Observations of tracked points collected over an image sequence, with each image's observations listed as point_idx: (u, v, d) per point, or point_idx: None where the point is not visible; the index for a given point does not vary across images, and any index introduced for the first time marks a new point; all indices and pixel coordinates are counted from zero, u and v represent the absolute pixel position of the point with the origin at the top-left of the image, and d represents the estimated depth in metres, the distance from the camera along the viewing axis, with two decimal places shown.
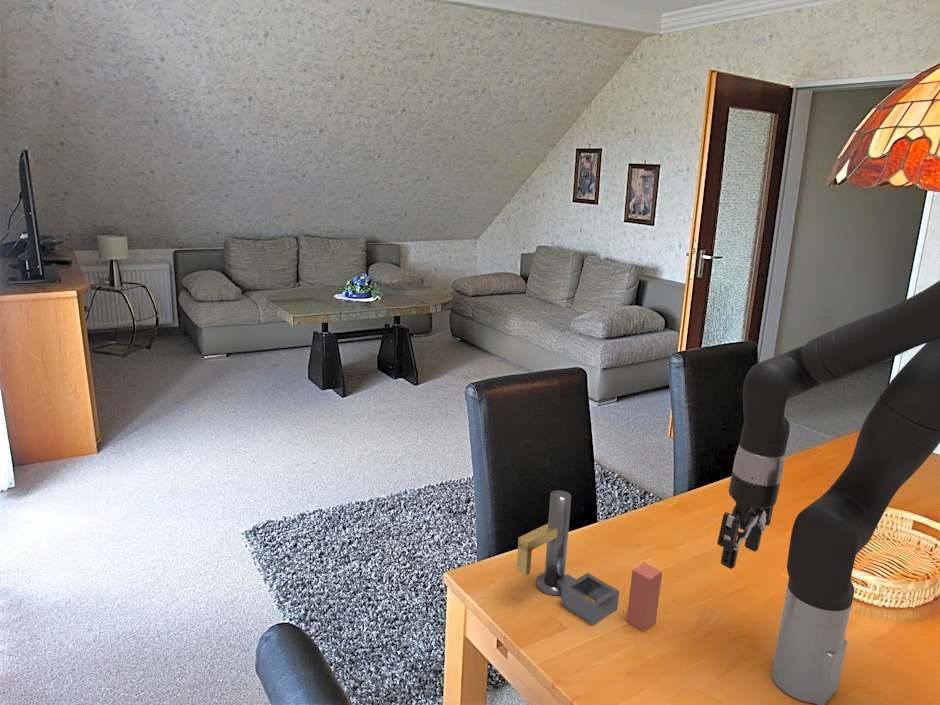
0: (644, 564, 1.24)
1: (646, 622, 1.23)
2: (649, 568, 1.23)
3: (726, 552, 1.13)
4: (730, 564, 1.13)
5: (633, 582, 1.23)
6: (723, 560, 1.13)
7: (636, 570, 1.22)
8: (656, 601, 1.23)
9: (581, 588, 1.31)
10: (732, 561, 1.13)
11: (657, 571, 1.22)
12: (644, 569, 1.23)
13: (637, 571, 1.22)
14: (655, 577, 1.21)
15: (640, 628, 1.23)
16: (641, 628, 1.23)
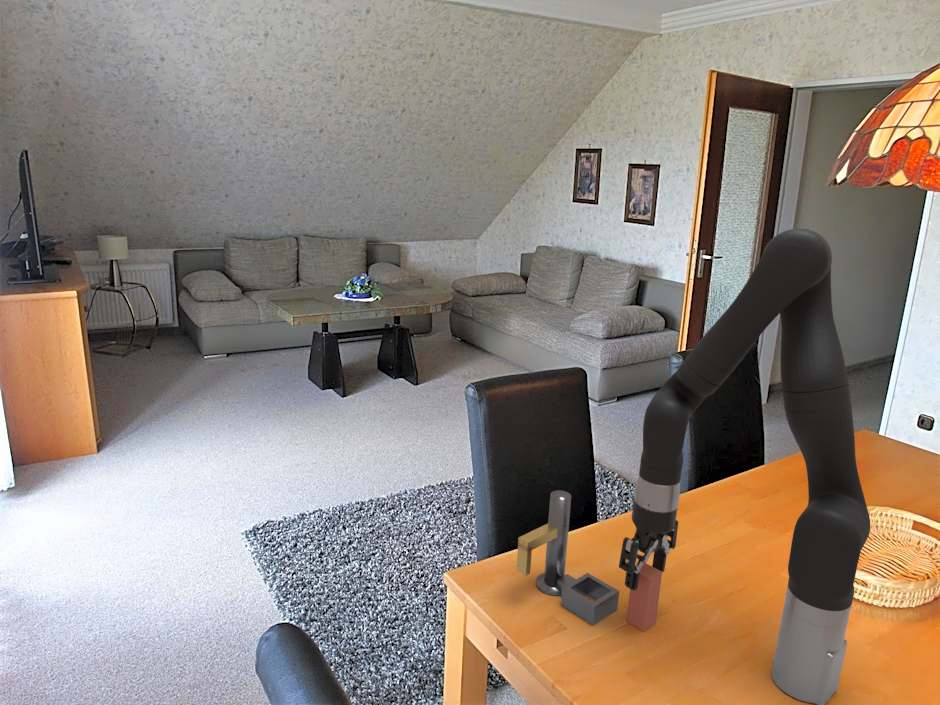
0: (644, 564, 1.24)
1: (646, 622, 1.23)
2: (649, 568, 1.23)
3: (628, 575, 1.19)
4: (632, 586, 1.19)
5: None
6: (626, 582, 1.20)
7: None
8: (656, 601, 1.23)
9: (581, 588, 1.31)
10: (634, 583, 1.19)
11: (657, 571, 1.22)
12: (644, 569, 1.23)
13: None
14: (655, 577, 1.21)
15: (640, 628, 1.23)
16: (641, 628, 1.23)
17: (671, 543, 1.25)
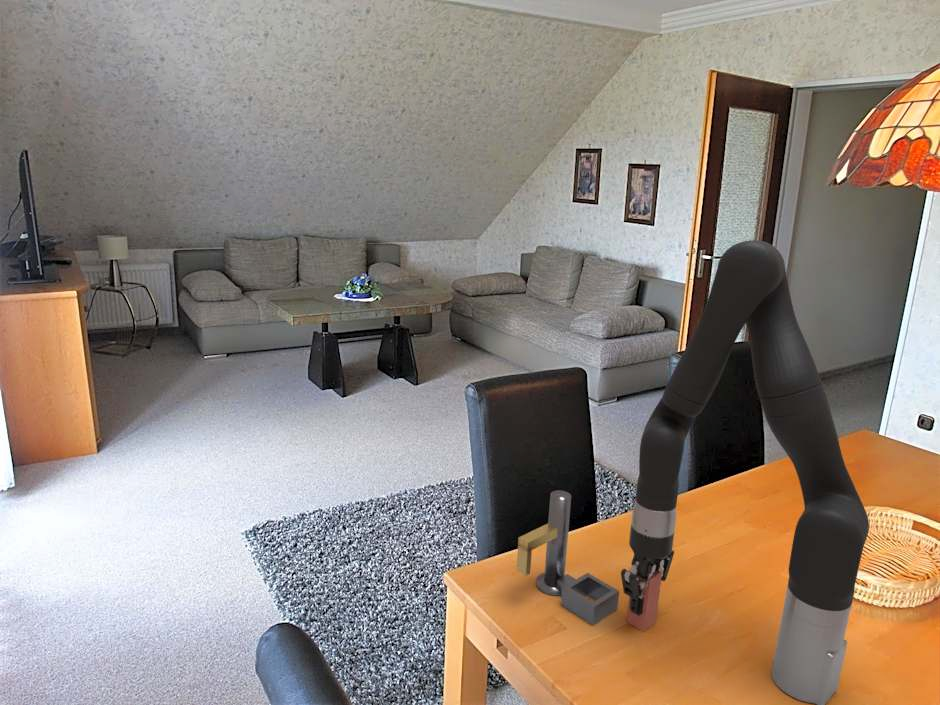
0: None
1: (646, 622, 1.23)
2: None
3: (633, 600, 1.22)
4: (637, 611, 1.22)
5: None
6: (631, 607, 1.22)
7: None
8: (656, 601, 1.23)
9: (581, 588, 1.31)
10: (639, 608, 1.22)
11: None
12: None
13: None
14: (655, 577, 1.21)
15: (640, 628, 1.23)
16: (641, 628, 1.23)
17: (662, 575, 1.25)
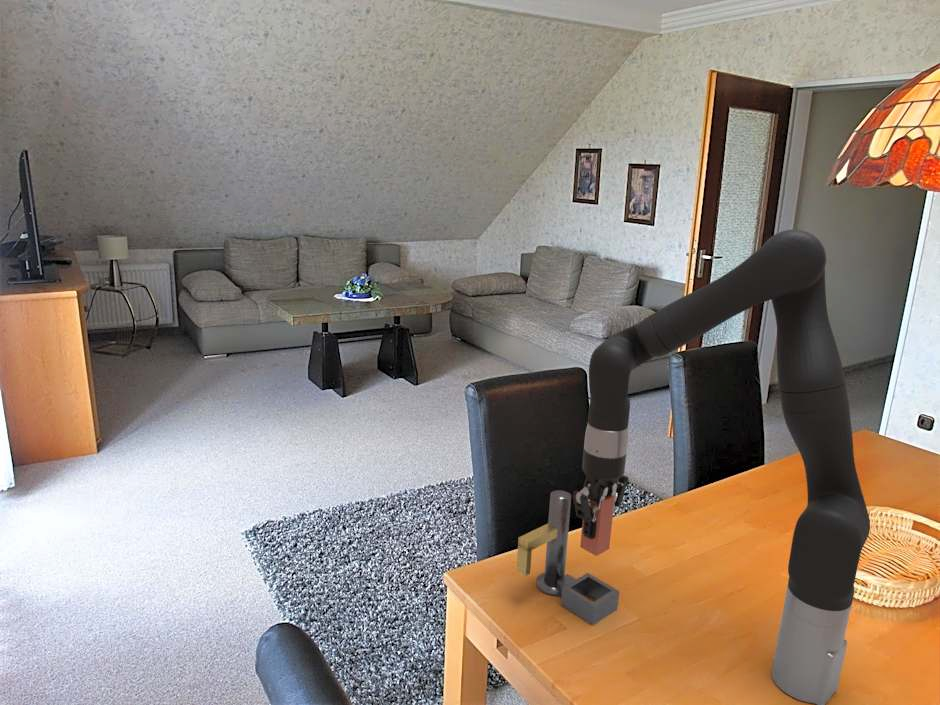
0: None
1: (599, 546, 1.23)
2: None
3: (586, 524, 1.22)
4: (590, 535, 1.22)
5: None
6: (584, 531, 1.23)
7: None
8: (609, 526, 1.24)
9: (581, 588, 1.31)
10: (592, 532, 1.22)
11: None
12: None
13: None
14: (607, 500, 1.21)
15: (593, 552, 1.24)
16: (594, 552, 1.23)
17: (616, 501, 1.25)
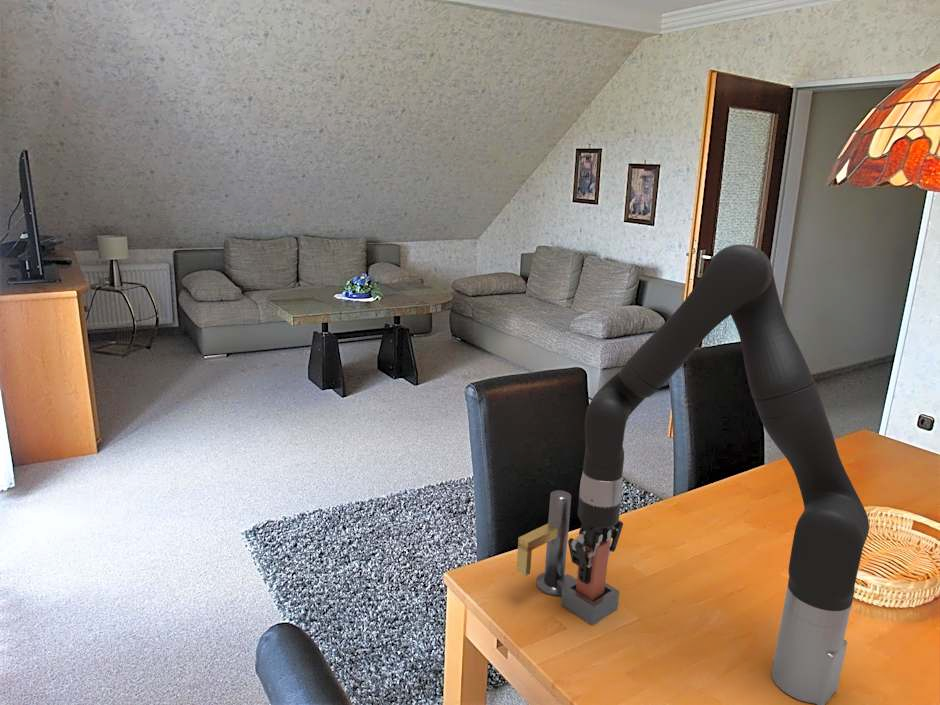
0: None
1: (594, 591, 1.26)
2: None
3: (581, 569, 1.25)
4: (585, 580, 1.25)
5: None
6: (579, 576, 1.25)
7: None
8: (604, 570, 1.26)
9: None
10: (587, 577, 1.25)
11: None
12: None
13: None
14: (602, 546, 1.24)
15: (588, 596, 1.26)
16: (589, 597, 1.26)
17: (611, 546, 1.28)
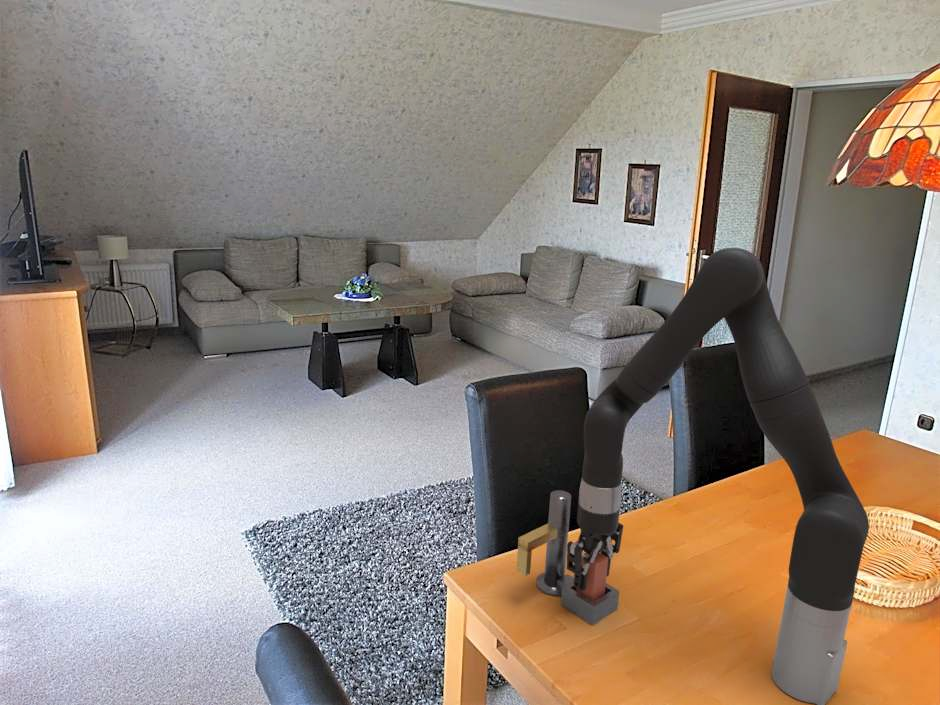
0: None
1: None
2: None
3: (576, 576, 1.24)
4: (580, 587, 1.24)
5: None
6: (574, 583, 1.25)
7: None
8: (603, 586, 1.27)
9: None
10: (582, 584, 1.24)
11: (604, 557, 1.26)
12: None
13: None
14: (601, 563, 1.25)
15: None
16: None
17: (615, 547, 1.29)
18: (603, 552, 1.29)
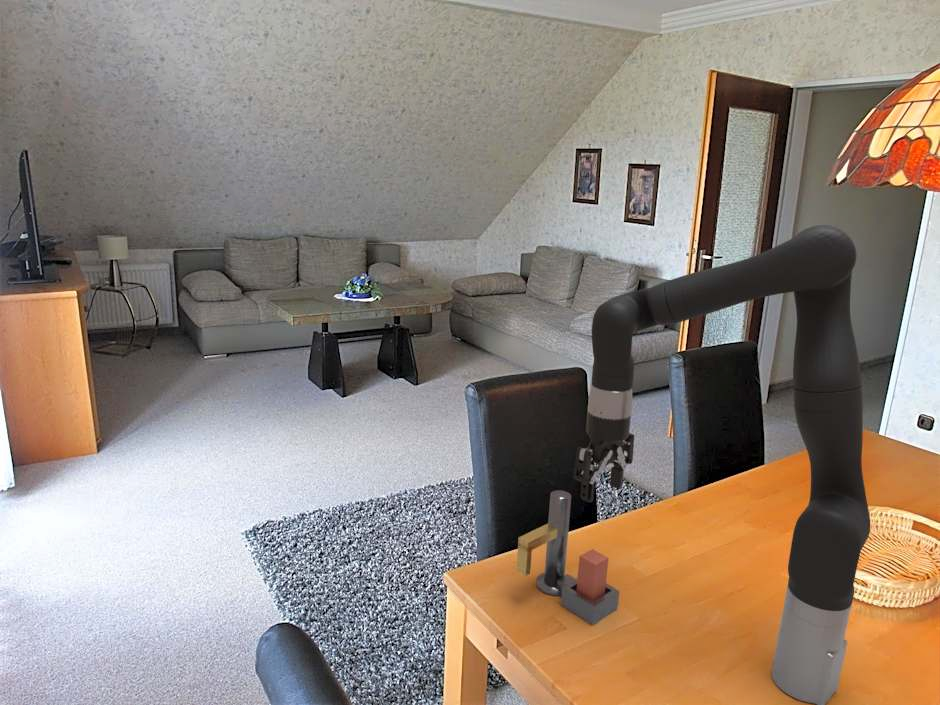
0: (592, 550, 1.28)
1: None
2: (596, 554, 1.27)
3: (583, 486, 1.19)
4: (588, 498, 1.19)
5: (580, 568, 1.27)
6: (581, 494, 1.19)
7: (583, 556, 1.26)
8: (603, 586, 1.27)
9: None
10: (590, 495, 1.19)
11: (604, 557, 1.26)
12: (591, 555, 1.26)
13: (584, 557, 1.26)
14: (601, 563, 1.25)
15: None
16: None
17: (628, 458, 1.24)
18: (615, 463, 1.24)
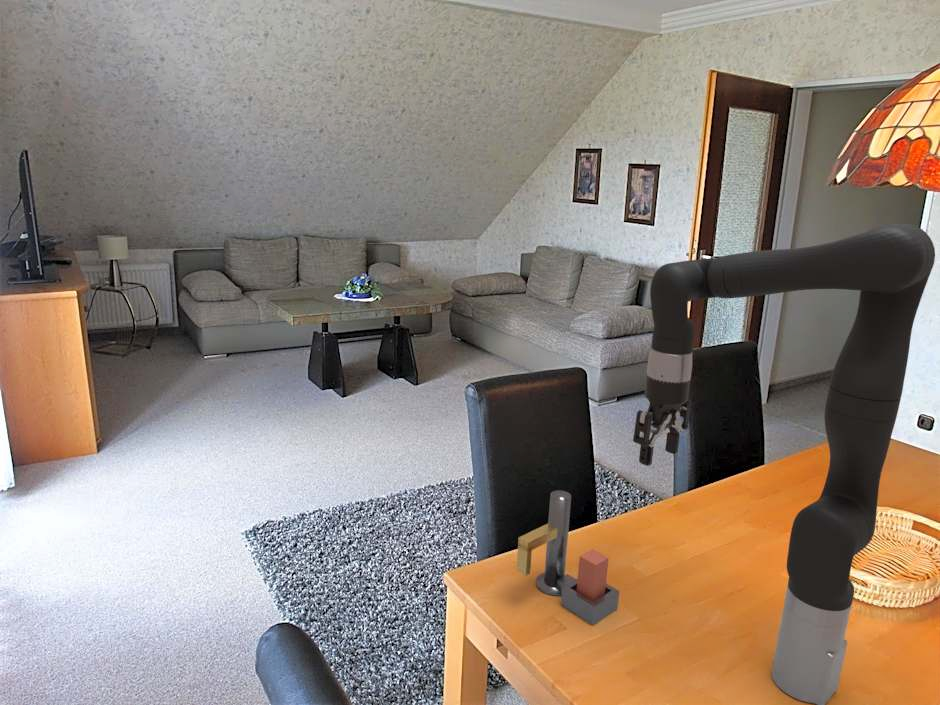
0: (592, 550, 1.28)
1: None
2: (596, 554, 1.27)
3: (642, 450, 1.20)
4: (647, 461, 1.20)
5: (580, 568, 1.27)
6: (640, 457, 1.20)
7: (583, 556, 1.26)
8: (603, 586, 1.27)
9: None
10: (649, 458, 1.20)
11: (604, 557, 1.26)
12: (591, 555, 1.26)
13: (584, 557, 1.26)
14: (601, 563, 1.25)
15: None
16: None
17: (684, 423, 1.26)
18: (672, 428, 1.26)
